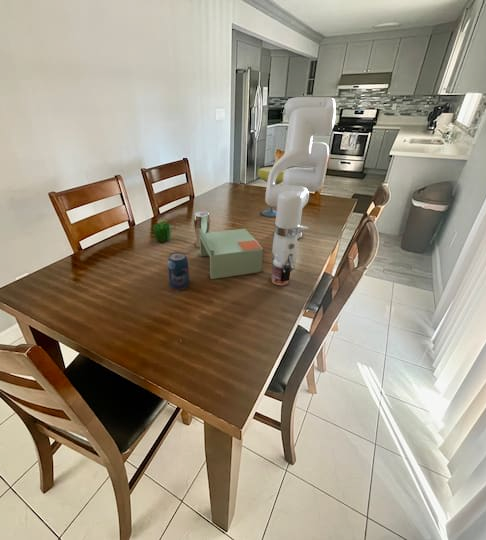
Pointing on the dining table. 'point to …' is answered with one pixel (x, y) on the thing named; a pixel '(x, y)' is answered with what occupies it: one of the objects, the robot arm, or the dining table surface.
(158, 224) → the bell pepper
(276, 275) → the pill bottle
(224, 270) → the shelf
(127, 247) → the dining table surface
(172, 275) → the soda can
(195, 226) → the beer glass
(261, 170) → the cocktail glass
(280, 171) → the robot arm
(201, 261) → the dining table surface
